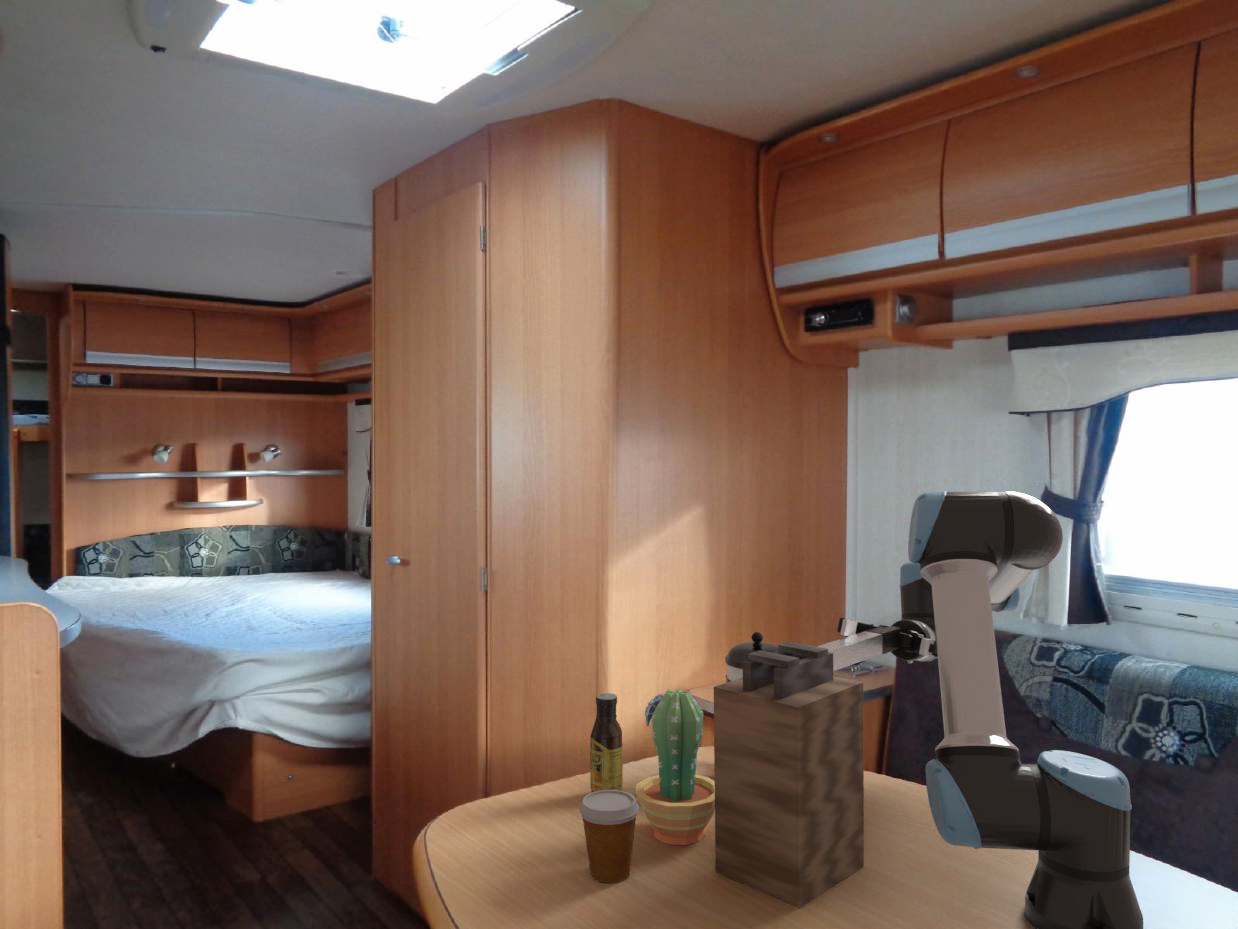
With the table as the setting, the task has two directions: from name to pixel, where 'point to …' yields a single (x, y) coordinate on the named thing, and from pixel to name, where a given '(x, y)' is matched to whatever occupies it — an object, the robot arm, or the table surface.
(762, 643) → the coffee press
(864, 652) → the white bar dark ends
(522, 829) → the table surface
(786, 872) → the walnut post
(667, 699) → the potted cactus
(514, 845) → the table surface
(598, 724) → the sauce bottle
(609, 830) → the disposable coffee cup
